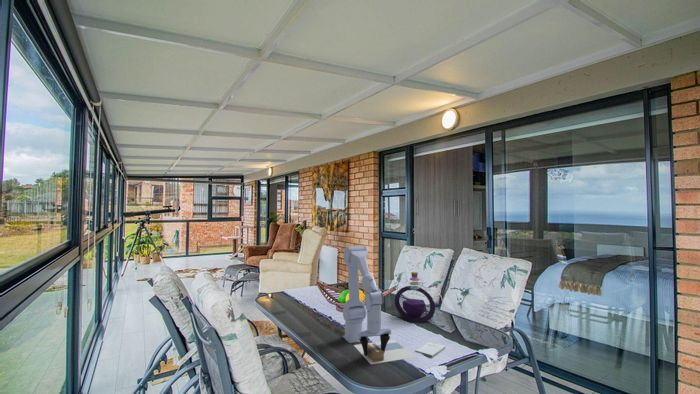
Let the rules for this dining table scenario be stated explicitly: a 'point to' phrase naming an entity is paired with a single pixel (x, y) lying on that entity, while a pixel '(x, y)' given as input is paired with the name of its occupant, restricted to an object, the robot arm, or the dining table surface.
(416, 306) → the decorative bottle
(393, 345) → the mat
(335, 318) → the dining table surface
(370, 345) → the cardboard box
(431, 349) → the external hard drive
